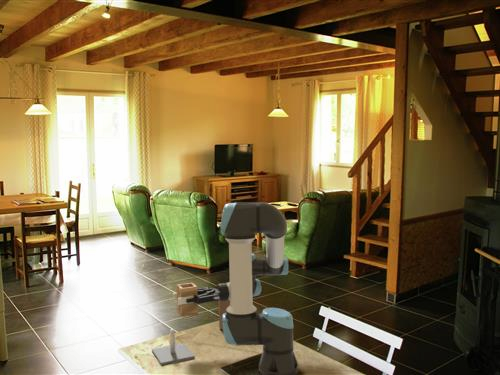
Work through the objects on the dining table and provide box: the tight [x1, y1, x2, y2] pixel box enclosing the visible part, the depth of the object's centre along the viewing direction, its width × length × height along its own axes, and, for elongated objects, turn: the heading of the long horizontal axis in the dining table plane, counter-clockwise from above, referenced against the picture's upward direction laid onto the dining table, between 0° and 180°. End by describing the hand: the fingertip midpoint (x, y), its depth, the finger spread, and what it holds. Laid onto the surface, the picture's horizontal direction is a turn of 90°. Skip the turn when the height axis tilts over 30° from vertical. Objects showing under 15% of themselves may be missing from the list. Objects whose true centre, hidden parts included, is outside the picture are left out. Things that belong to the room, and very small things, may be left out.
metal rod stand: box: [151, 328, 196, 366], centre depth 201 cm, size 15×14×11 cm
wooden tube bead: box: [176, 282, 199, 318], centre depth 204 cm, size 7×7×12 cm
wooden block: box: [218, 283, 230, 330], centre depth 232 cm, size 10×10×20 cm
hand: (175, 298), depth 202 cm, fingers closed on wooden tube bead, 7 cm apart
